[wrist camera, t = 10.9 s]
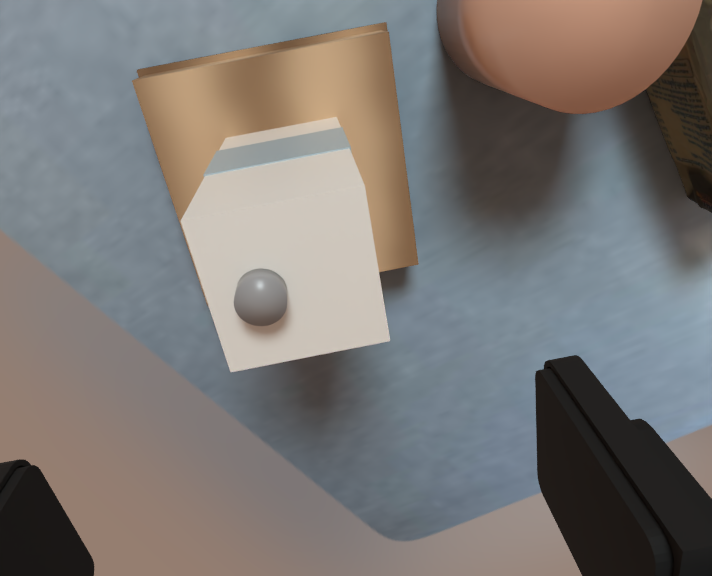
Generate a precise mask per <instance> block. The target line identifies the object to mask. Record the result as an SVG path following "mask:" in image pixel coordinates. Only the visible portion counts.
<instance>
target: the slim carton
mask: <svg viewBox="0 0 712 576" xmlns="http://www.w3.org/2000/svg"><path fill="white" fill-rule="evenodd" d="M203 176H204V179H203V181H202V182H201V184H200V186H199V188H198V190H197V192H196V193H195V195H194V197H193V199H192V201H191V203H190V204H189V206H188V208H187V210H186V212H185V214H184V215H183V217H182V219H181V224H182V227H183V230H184V233H185V236H186V239H187V242H188V245H189V248H190V251H191V254H192V257H193V260H194V263H195V266H196V269H197V272H198V275H199V278H200V281H201V284H202V287H203V290H204V294H205V297H206V300H207V303H208V306H209V309H210V312H211V315H212V318H213V321H214V324H215V327H216V330H217V333H218V336H219V339H220V342H221V345H222V348H223V351H224V354H225V357H226V360H227V363H228V366H229V369H230V372H235V371H240V370H245V369H250V368H256V367H261V366H266V365H271V364H276V363H281V362H286V361H291V360H296V359H301V358H306V357H311V356H316V355H322V354H327V353H332V352H337V351H342V350H347V349H352V348H357V347H362V346H367V345H372V344H377V343H383V342H388V341H390V337H389V331H388V324H387V318H386V312H385V306H384V300H383V294H382V288H381V282H380V275H379V269H378V263H377V257H376V251H375V245H374V239H373V233H372V227H371V220H370V214H369V208H368V202H367V196H366V190H365V185H364V182H363V180H362V177H361V175H360V173H359V170H358V168H357V165H356V163H355V160H354V158H353V155H352V152H351V146H350V144H349V142H348V139H347V137H346V135H345V132H344V130H343V127H341V126H340V124H339V121H338V119H337V117H333V118H328V119H323V120H317V121H312V122H307V123H302V124H296V125H291V126H286V127H281V128H275V129H270V130H265V131H260V132H254V133H249V134H244V135H239V136H233V137H228V138H225V140H224V142H223V144H222V146H221V147H220V149H219V151H216V153H215V155H214V157H213V158H212V160H211V162H210V164H209V166H208V167H207V169H206V171H205V173H204V175H203Z"/></svg>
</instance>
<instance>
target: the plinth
mask: <svg viewBox="0 0 712 576" xmlns="http://www.w3.org/2000/svg"><path fill="white" fill-rule="evenodd" d="M137 73H138V76H139V78H137V79H135V80H133V81H132V82H133V85H134V88H135V91H136V94H137V97H138V100H139V103H140V106H141V109H142V112H143V115H144V118H145V121H146V124H147V127H148V130H149V133H150V136H151V139H152V142H153V145H154V148H155V151H156V154H157V157H158V160H159V163H160V166H161V169H162V172H163V175H164V178H165V180H166V183H167V186H168V189H169V192H170V195H171V198H172V201H173V204H174V207H175V210H176V213H177V216H178V219H179V222H180V225H181V228H182V231H183V234H184V237H185V240H186V243H187V246H188V249H189V252H190V255H191V258H192V261H193V264H194V267H195V270H196V273H197V276H198V279H199V282H200V285H201V288H202V291H203V294H204V290H203V287H202V284H201V281H200V278H199V275H198V272H197V269H196V266H195V263H194V260H193V257H192V254H191V251H190V248H189V245H188V242H187V239H186V236H185V233H184V230H183V227H182V224H181V219H182V217H183V215H184V214H185V212H186V210H187V208H188V206H189V204H190V203H191V201H192V199H193V197H194V195H195V193H196V192H197V190H198V188H199V186H200V184H201V182H202V181H203V179H204V176H203V175H204V173H205V171H206V169H207V167H208V166H209V164H210V162H211V160H212V158H213V157H214V155H215V153H216V151H219V149H220V147H221V146H222V144H223V142H224V140H225V138H228V137H233V136H239V135H244V134H249V133H254V132H260V131H265V130H270V129H275V128H281V127H286V126H291V125H296V124H302V123H307V122H312V121H317V120H323V119H328V118H333V117H337V119H338V121H339V124H340V126H341V127H343V130H344V132H345V135H346V137H347V139H348V142H349V144H350V146H351V152H352V155H353V158H354V160H355V163H356V165H357V168H358V170H359V173H360V175H361V177H362V180H363V182H364V185H365V190H366V196H367V202H368V208H369V214H370V220H371V227H372V233H373V239H374V245H375V251H376V257H377V263H378V269H379V272H382V271H387V270H392V269H397V268H403V267H408V266H413V265H418V257H417V249H416V242H415V234H414V226H413V218H412V210H411V202H410V195H409V187H408V179H407V171H406V163H405V156H404V148H403V140H402V132H401V124H400V117H399V109H398V101H397V93H396V85H395V77H394V70H393V62H392V54H391V46H390V38H389V32H387V24H386V23H385V22H384V23H379V24H374V25H368V26H363V27H358V28H353V29H347V30H342V31H337V32H332V33H326V34H321V35H316V36H311V37H305V38H300V39H295V40H290V41H284V42H279V43H274V44H269V45H264V46H258V47H253V48H248V49H243V50H237V51H232V52H227V53H222V54H216V55H211V56H206V57H201V58H195V59H190V60H185V61H180V62H174V63H169V64H164V65H159V66H153V67H148V68H143V69H139V70H137ZM204 297H205V294H204ZM205 300H206V297H205ZM206 303H207V300H206ZM207 306H208V303H207Z"/></svg>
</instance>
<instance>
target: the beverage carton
mask: <svg viewBox="0 0 712 576" xmlns="http://www.w3.org/2000/svg"><path fill="white" fill-rule="evenodd" d="M646 90H647V93H648V96H649V98H650V101H651V104H652V107H653V109H654V112H655V115H656V117H657V120H658V123H659V125H660V128H661V131H662V133H663V136H664V138H665V141H666V144H667V146H668V149H669V151H670V153H671V156H672V158H673V160H674V162H675V164H676V167H677V169H678V172H679V175H680V177H681V180H682V183H683V185H684V188H685V191H686V194H687V197H688V198H689V199H691V200H692V201H694V202H696V203H697V204H698V205H699V206H700V207H701V208H704V209H707V210H708V211H710V212H711V213H712V0H702V4H701V7H700V11H699V14H698V17H697V19H696V22H695V24H694V27H693V29H692V31H691V33H690V35H689V37H688V39H687V41H686V43H685V45H684V46H683V48H682V49H681V51H680V53H679V54H678V56H677V57H676V58H675V60H674V61H673V62H672V63H671V65H670V66H669V67H668V69H667V70H666V71H665V72H664V73H663V74H662V75H661V76H660V77H659V78H658V79H657V80H656V81H655V82H654V83H652V84H651V85H650V86H649V87H648V88H647V89H646Z"/></svg>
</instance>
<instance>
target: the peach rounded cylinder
mask: <svg viewBox="0 0 712 576" xmlns="http://www.w3.org/2000/svg"><path fill="white" fill-rule="evenodd" d="M701 4H702V0H437V22H438V29H439V33H440V37H441V40H442V43H443V45H444V47H445V50H446V51H447V53H448V55H449V57H450V58H451V60H452V61H453V62H454V63H455V65H456V66H457V67H458V68H459V69H460V70H461V71H462V72H463V73H465V74H466V75H467V76H469V77H470V78H472V79H474V80H476V81H478V82H480V83H483V84H485V85H488V86H491V87H493V88H496V89H499V90H501V91H504V92H507V93H509V94H512V95H514V96H517V97H520V98H522V99H525V100H528V101H530V102H533V103H536V104H538V105H541V106H544V107H546V108H549V109H552V110H555V111H558V112H564V113H570V114H586V113H595V112H599V111H603V110H607V109H610V108H613V107H615V106H618V105H620V104H622V103H624V102H626V101H628V100H630V99H632V98H634V97H635V96H637V95H638V94H639V93H641V92H642V91H644V90H645V89H647V88H648V87H649V86H650V85H651V84H652V83H654V82H655V81H656V80H657V79H658V78H659V77H660V76H661V75H662V74H663V73H664V72H665V71H666V70H667V69H668V67H669V66H670V65H671V63H672V62H673V61H674V60H675V58H676V57H677V56H678V54H679V53H680V51H681V49H682V48H683V46H684V45H685V43H686V41H687V39H688V37H689V35H690V33H691V31H692V29H693V27H694V24H695V22H696V19H697V17H698V14H699V11H700V7H701Z"/></svg>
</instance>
